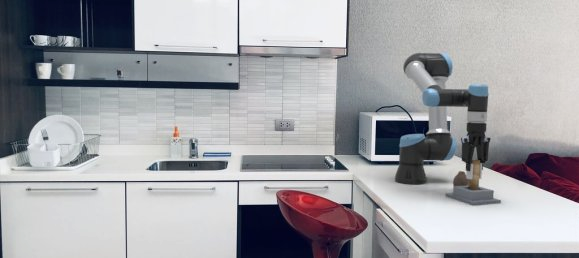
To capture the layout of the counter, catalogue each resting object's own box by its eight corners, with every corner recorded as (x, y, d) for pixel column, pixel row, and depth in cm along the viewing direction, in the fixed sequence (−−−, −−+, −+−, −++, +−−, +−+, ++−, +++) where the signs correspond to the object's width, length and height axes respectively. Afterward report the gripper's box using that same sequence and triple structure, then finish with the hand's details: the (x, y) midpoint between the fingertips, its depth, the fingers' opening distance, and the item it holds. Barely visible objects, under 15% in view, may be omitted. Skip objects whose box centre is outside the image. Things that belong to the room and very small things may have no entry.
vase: (449, 189, 205) (450, 170, 204) (461, 188, 207) (462, 170, 206) (460, 193, 198) (461, 173, 198) (472, 192, 201) (473, 172, 200)
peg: (466, 187, 187) (467, 159, 186) (473, 187, 188) (475, 159, 187) (473, 189, 183) (474, 160, 182) (480, 189, 184) (482, 160, 183)
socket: (445, 196, 191) (446, 185, 191) (472, 194, 196) (472, 183, 196) (473, 205, 176) (473, 193, 176) (500, 203, 181) (501, 191, 181)
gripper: (466, 122, 177) (463, 181, 179) (499, 122, 183) (496, 179, 185) (453, 121, 184) (450, 177, 186) (486, 121, 190) (483, 175, 192)
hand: (473, 178), depth 185 cm, fingers closed on peg, 4 cm apart
